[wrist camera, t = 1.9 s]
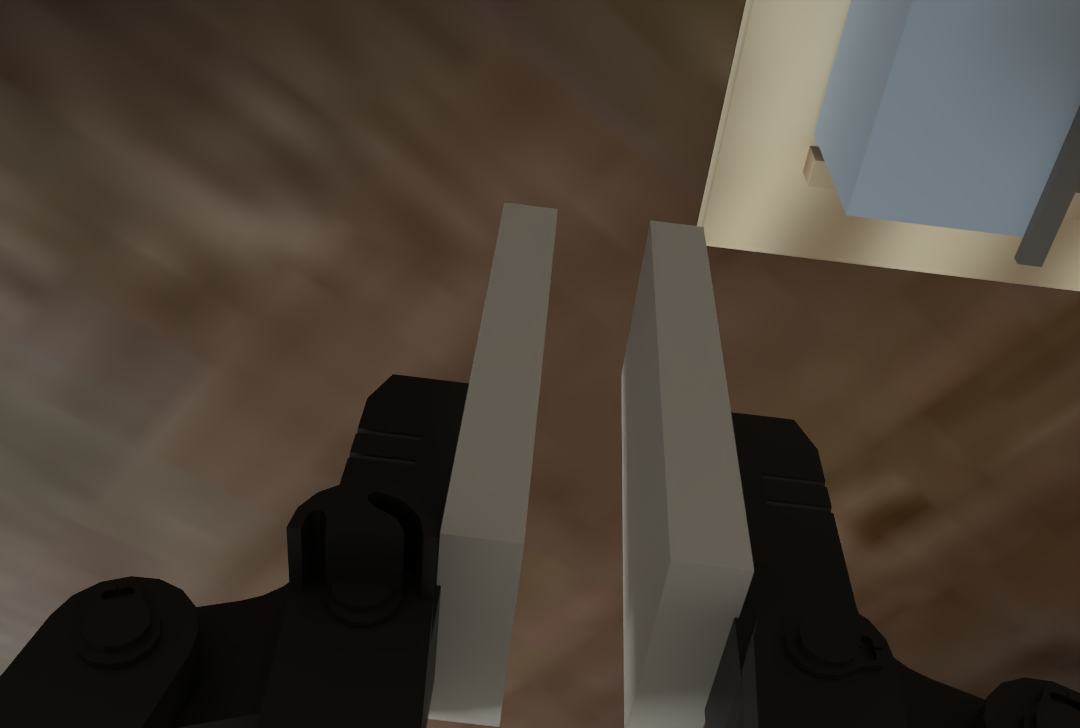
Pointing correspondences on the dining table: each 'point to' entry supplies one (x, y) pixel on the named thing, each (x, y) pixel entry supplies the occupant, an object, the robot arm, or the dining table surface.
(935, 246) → the board
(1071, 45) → the carriage
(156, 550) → the dining table surface
